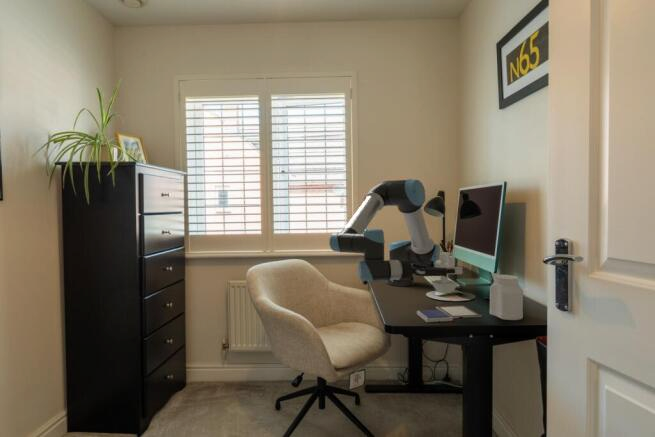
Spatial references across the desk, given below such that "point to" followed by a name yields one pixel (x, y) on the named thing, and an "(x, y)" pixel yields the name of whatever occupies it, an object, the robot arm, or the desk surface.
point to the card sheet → (458, 311)
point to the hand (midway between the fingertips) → (455, 267)
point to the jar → (506, 298)
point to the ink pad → (434, 315)
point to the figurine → (444, 283)
